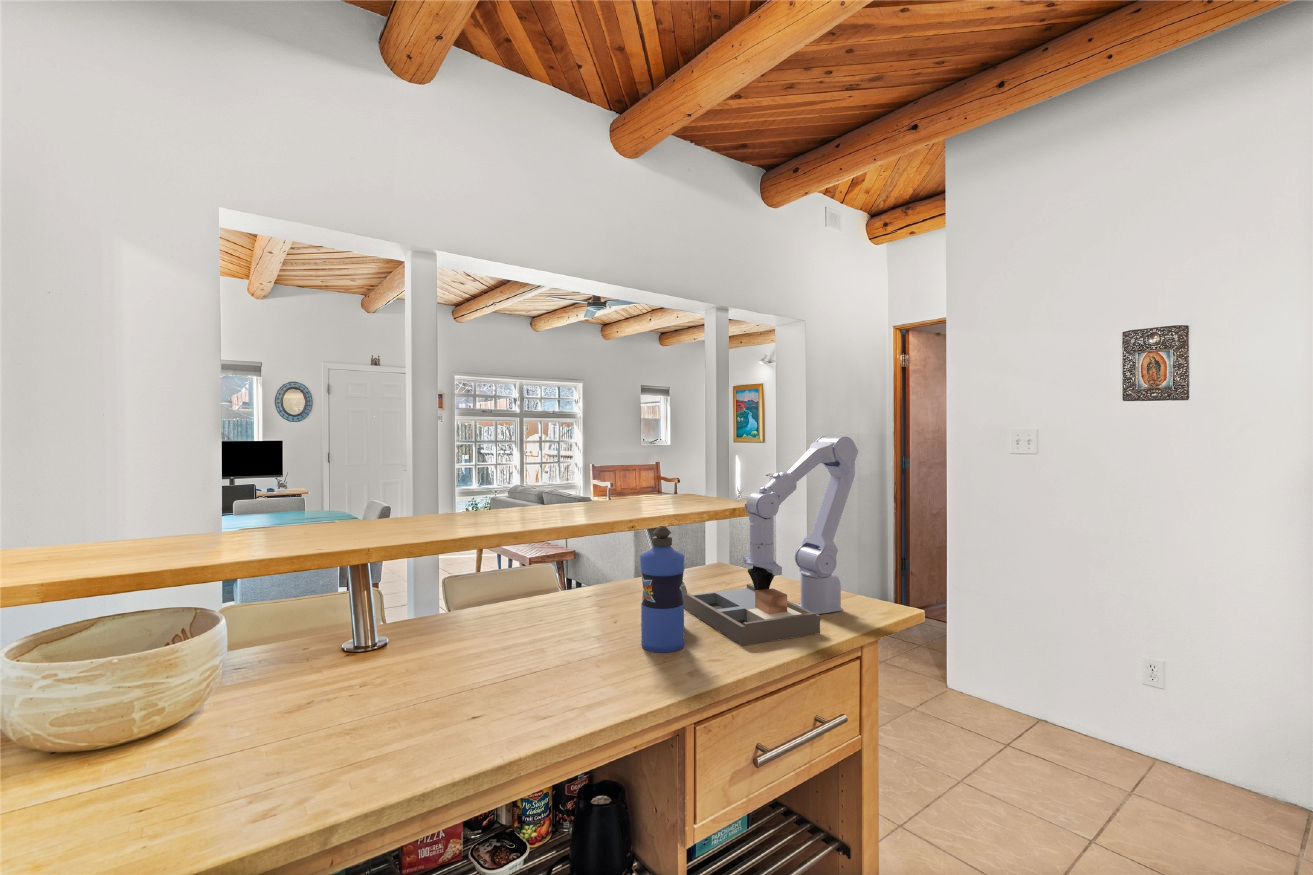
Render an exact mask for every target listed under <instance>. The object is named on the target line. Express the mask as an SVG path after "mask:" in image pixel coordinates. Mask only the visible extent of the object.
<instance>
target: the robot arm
mask: <svg viewBox="0 0 1313 875" xmlns="http://www.w3.org/2000/svg"><path fill="white" fill-rule="evenodd" d="M858 454H859V450H858V447H857V445H856V444H855V441H854V440H853V439H852V438H851V437H849V436H826V435H822V436H820V437H818V438H817V439H816V440H815V441H814V442H812V443H811V444H810V446H809V448H808V450H806V451H805V453H804V454H802V456H801V457H800V458H799V459H798V460H797V461H796V462H795V463H794V464H793V465H792V466H791V467H790V468H789V469H788V471H781V472H780V471H779V473H777V472H775V473H774V474H773V475H772V478H771V479H770V480H769V481H768V483H766V484H765V485H764V486H761V487H760V488H759V490H758V492H752V493H751V494H750V495H749V496H748V497H747V500H746V503H744V510H745V511H746V512H747V514H748V521H749V554H746V555H743V556H742V560H743V561H742V563H743V564H745V565H747V566H749V567H751V566H752V568H748V569H747V573H748V575H749V577H750V579H751V581H752V585H754V588H755V590H763V589H771V588H770V587H771V584H772V582H773V580H774V578H775V576H782V575H783V566H781V565H779V563H777V562H776V561H775V559H774V557H775V556H774V554H775V553H774V552H775V551H774V548H775V546H774V544H775V542H774V540H775V539H774V537H775V536H774V535H775V534H774V529H775V528H774V523H775V522H774V516H776V515H777V514H778V512H779V509H780V505H781V504H782V503H783V502H784V501H785V500H786V499H787V498H788V497H790V496H791V495H792V494H793V493H794V492H795V491H796V490H797V485H798V484H797V483H798V482H799V481H800V480H802V479H803V478H804V477H805V476H807V474H808V473H810V472H811V471H813V469H815V468H816V467H818V465H820V464H822V465H823V466H824V467H825V468H826V469H827V470H828V472H829V474H830V479H829V481H828V484H827V487H826V490H825V493H824V495H823V498H822V501H821V505H820V508H819V511H818V514H817V516H816V520H815V523H814V526H813V528H812V532H810V533H809V535H807V536H806V537H804V538H803V540H802V543H801V544H800V546H799V547H798V548H797V549H796V551H795V554H794V561H795V565H796V566H797V567H798V568H799V572H800V603H797V604H796V603H795V604H796V605H798V606H800V607H803V608H805V609H807V610H809V611H811V612H814V613H816V614H818V615H822V614H829V613H836V612H842V611H844V609H843V607H842V605H841V604H842V602H841V601H842V599H841V598H842V596H841V595H842V594H841V593H842V590H841V588H842V586H841V581H840V578H839V576H838V575H837V574H836V573H834V572H835V571H836V568H837V556H838V552H839V549H838V547H837V545H836V544H835V541H834V539H835V536H836V533H837V530H838V528H839V525H840V521H841V519H842V515H843V513H844V510H845V506H846V504H847V501H848V498H849V494H850V491H851V489H852V485H853V482H854V479H855V476H856V459H857V457H858Z"/></svg>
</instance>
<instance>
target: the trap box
mask: <svg viewBox="0 0 1313 875" xmlns="http://www.w3.org/2000/svg"><path fill="white" fill-rule="evenodd" d="M684 610H686V611H687V612H688V613H691V614H692V615H694V616H695V617H696V618H698V619H700V620H701V621H702V622H704V623H705V624H707V625H708V626H710V627H712V628H714V629H715V630H717V631H718V632H719V633H721V634H723V635H724V636H726V637H727V638H729V639H730V640H732V641H733V642H735V643H736V644H738V645H740V646H741V647H745V646H750V645H755V644H763V643H768V642H774V641H780V640H787V639H792V638H793V639H794V638H801V637H806V636H812V635H818V634H819V635H820V634H821V614H816V613H814V612H811V611H809V610H807V609H805V608H803V607H800V606H798V605H796V603H794V602H791V601H789V600H787V612H781V613H774V614H767V613H765V612H764V611H762V610H760V609H758V608H756V607H755V588H754V585H753V584H751V583H746V587H744V588H736V589H735V588H734V589H726V590H720V591H719V590H718V591H717V590H716V591H711V592H710V591H708V592H702V593H695V594H694V593H693V594H691V593H689V592H688V591H687V594H686V595H685V596H684Z"/></svg>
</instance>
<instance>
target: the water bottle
mask: <svg viewBox="0 0 1313 875" xmlns="http://www.w3.org/2000/svg"><path fill="white" fill-rule="evenodd" d="M652 533H653V535H654V536H653V537H651V541H652V542H651V544H652V547H651V549H649V550H647V551H645V552H644V553H641V554H640V555H639V559H640V560H639V562H640V564H639V568H640V569H639V570H640V573H641V574H640V575H641V581H642V582H641V583H642V597H641V605H640V610H641V611H640V613H641V615H640V618H641V619H640V627H641V628H640V630H641V631H640V632H641V638H640V639H641V640H640V642H641V648H642V649H644V650H645V651H647V652H650V653H655V654H667V653H675V652H679V651H681V650H683V649H684V647H685V609H684V603H683V596H682V582H684V581H683V579H684V572H685V554H684V553H681V552H680V551H677V550H675V549H674V548H673V547H672V546H673V537H672V536H670V535H671V534H672V531H670V529H669V528H668V527H667V526H657V527H656V528H655V529H654V531H653V532H652Z"/></svg>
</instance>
